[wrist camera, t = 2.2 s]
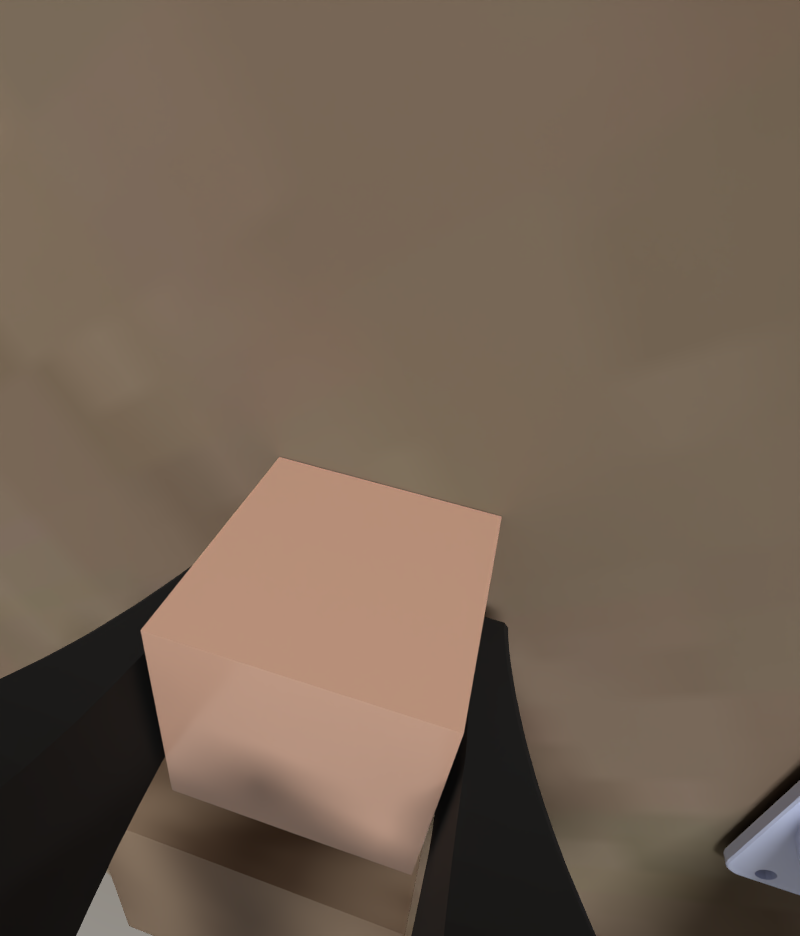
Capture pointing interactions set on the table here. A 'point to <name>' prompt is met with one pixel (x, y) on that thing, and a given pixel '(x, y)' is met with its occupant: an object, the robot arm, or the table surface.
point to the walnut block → (246, 876)
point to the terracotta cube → (325, 659)
